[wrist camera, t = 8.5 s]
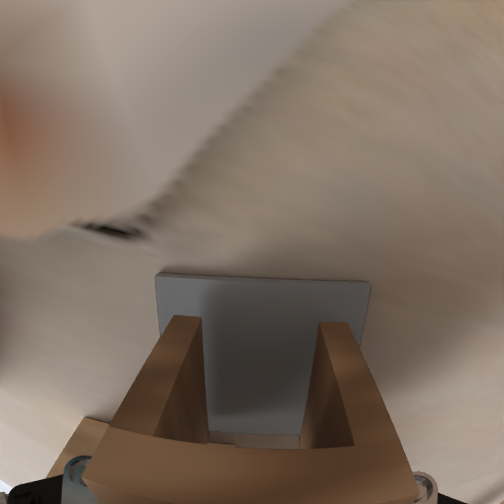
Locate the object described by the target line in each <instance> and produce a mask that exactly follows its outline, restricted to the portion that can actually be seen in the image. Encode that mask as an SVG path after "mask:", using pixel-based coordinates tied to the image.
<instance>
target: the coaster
mask: <svg viewBox="0 0 504 504" xmlns="http://www.w3.org/2000/svg"><path fill="white" fill-rule="evenodd" d="M155 287H156V298H157V309H158V319H159V328H160V337H161V335H162V333H163V332H164V330H165V328H166V327H167V325H168V323H169V322H170V320H171V319H172V317H173V315H184V316H197V317H202V333H203V353H204V370H205V386H206V400H207V412H208V424H209V431H218V432H229V433H243V434H263V435H300V431H301V426H302V421H303V416H304V411H305V406H306V400H307V395H308V389H309V384H310V378H311V372H312V366H313V359H314V353H315V346H316V340H317V333H318V326H319V322H347V323H348V326H349V328H350V330H351V332H352V334H353V336H354V338H355V340H356V342H357V344H358V347H360V342H361V337H362V333H363V328H364V323H365V318H366V312H367V307H368V302H369V296H370V290H371V285H370V284H369V282H355V281H319V280H290V279H265V278H243V277H222V276H203V275H186V274H169V273H157V274H156V276H155Z"/></svg>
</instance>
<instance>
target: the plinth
mask: <svg viewBox="0 0 504 504" xmlns="http://www.w3.org/2000/svg"><path fill="white" fill-rule="evenodd" d="M109 425H110V424H108V423H104V422H100V421H97V420H93V419H90V418H87V417H84V418H83V420H82V421H81V423H80V424H79V426H78V427H77V429H76V430H75V432H74V434H73V435H72V437H71V438H70V440H69V441H68V443H67V445H66V446H65V448H64V449H63V451H62V452H61V454H60V456H59V457H58V459H57V460H56V462H55V464H54V465H53V467H52V469H51V470H50V472H49V473H48V475H47V477H46V478H50V477H54V476H57V475H61V474H63V472H64V468H65V465H66V464H67V463H68V461H70V460H71V459H73V458H75V457H77V456H82V455H88V456H93V454H94V452H95V450H96V448H97V446H98V445H99V443H100V441H101V439H102V437H103V436H104V434H105V432H106V430H107V428H108V427H109ZM207 445H214V446H224V447H235V445H232V444H220V443H210V442H207ZM46 478H45V479H46Z"/></svg>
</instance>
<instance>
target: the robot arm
mask: <svg viewBox="0 0 504 504" xmlns="http://www.w3.org/2000/svg"><path fill="white" fill-rule="evenodd" d="M91 458H92V456H88V455H82V456H77V457H75V458H73V459H71V460H70V461H68V463H67V464H66V465H65V468H64V472H63V474H61V475H57V476H54V477H50V478H46V479H42V480H38V481H34V482H29V483H25V484H20V485H18V486H15V487H14V488H13V489H12V490H11V491H10V493H9V494H5V492H0V504H99V502H98V501H97V500H96V498H95V497H94V495H93V494H92V493H91V491H90V490H89V488H88V487H87V485H86V484H85V482H84V481H83V479H82V478H81V476H82V474H83V472H84V471H85V469H86V467H87V465H88V463H89V461H90V459H91ZM412 473H413V475H414V478H415V481H416V483H417V486H418V489H419V491H420V495H419V496H418V497H417V498H416V500H415V501H414V502H413V503H412V504H467V503H464V502H461V501H458V500H456V499H453V498H450V497H448V496H445V495H443V494H440V493H438V487H437V483H436V482H435V480H434V479H433V478H432V477H431V476H430V475H428V474H426V473H423V472H418V471H417V472H412Z"/></svg>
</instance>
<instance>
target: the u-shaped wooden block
mask: <svg viewBox="0 0 504 504" xmlns="http://www.w3.org/2000/svg"><path fill="white" fill-rule="evenodd" d="M208 436H209V424H208V412H207V400H206V386H205V370H204V353H203V333H202V317H197V316H184V315H173V317H172V319H171V320H170V322H169V323H168V325H167V327H166V328H165V330H164V332H163V333H162V335H161V337H160V338H159V340H158V342H157V343H156V345H155V347H154V348H153V350H152V352H151V354H150V355H149V357H148V359H147V360H146V362H145V364H144V365H143V367H142V369H141V371H140V372H139V374H138V376H137V377H136V379H135V381H134V383H133V384H132V386H131V388H130V389H129V391H128V393H127V395H126V396H125V398H124V400H123V402H122V403H121V405H120V407H119V409H118V411H117V412H116V414H115V416H114V418H113V419H112V421H111V423H110V425H109V427H108V428H107V430H106V432H105V434H104V436H103V437H102V439H101V441H100V443H99V445H98V446H97V448H96V450H95V452H94V454H93V456H92V458H91V459H90V461H89V463H88V465H87V467H86V469H85V471H84V472H83V474H82V476H81V478H82V479H83V481H84V482H85V484H86V485H87V487H88V488H89V490H90V491H91V493H92V494H93V495H94V497H95V498H96V500H97V501H98V502H99V504H412V503H413V502H414V501H415V500H416V498H417V497H418V496H419V495H420V491H419V489H418V486H417V483H416V481H415V478H414V475H413V473H412V470H411V468H410V465H409V462H408V460H407V457H406V455H405V452H404V450H403V447H402V445H401V442H400V440H399V437H398V435H397V433H396V430H395V428H394V425H393V423H392V421H391V418H390V416H389V414H388V411H387V409H386V407H385V404H384V402H383V400H382V397H381V395H380V393H379V390H378V388H377V386H376V384H375V381H374V379H373V377H372V375H371V373H370V370H369V368H368V366H367V364H366V362H365V359H364V357H363V355H362V353H361V351H360V349H359V347H358V344H357V342H356V340H355V338H354V336H353V334H352V332H351V330H350V328H349V326H348V323H347V322H319V326H318V333H317V340H316V346H315V353H314V359H313V366H312V372H311V378H310V384H309V389H308V395H307V400H306V406H305V411H304V416H303V421H302V426H301V431H300V436H299V439H300V449H253V448H237V447H224V446H214V445H207V440H208Z"/></svg>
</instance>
